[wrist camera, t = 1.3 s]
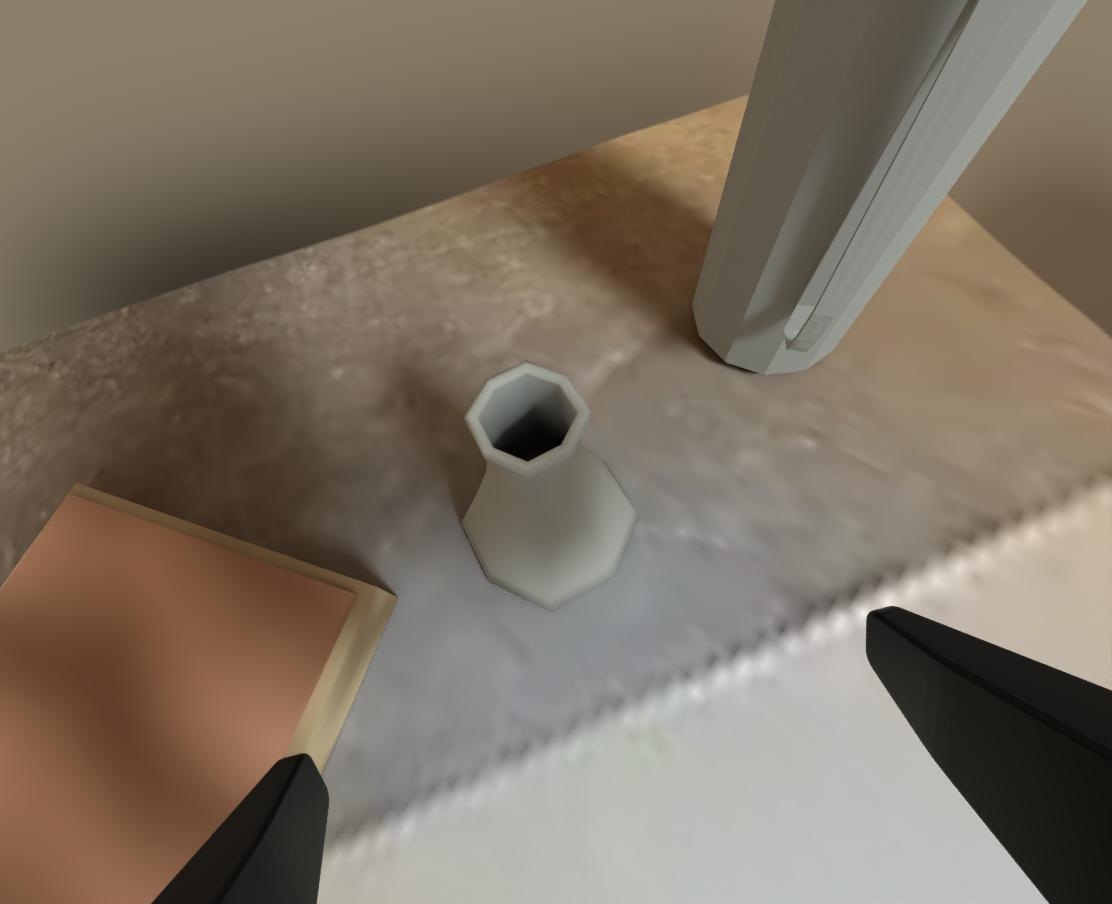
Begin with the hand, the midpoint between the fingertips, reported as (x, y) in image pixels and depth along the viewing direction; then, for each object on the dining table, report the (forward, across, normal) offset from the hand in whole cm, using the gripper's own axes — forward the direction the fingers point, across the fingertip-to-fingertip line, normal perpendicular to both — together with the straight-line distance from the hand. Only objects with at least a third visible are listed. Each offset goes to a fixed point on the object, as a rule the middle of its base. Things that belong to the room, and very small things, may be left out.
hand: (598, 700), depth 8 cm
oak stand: (+11, +16, +7) cm, 21 cm away
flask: (+14, 0, +5) cm, 15 cm away
